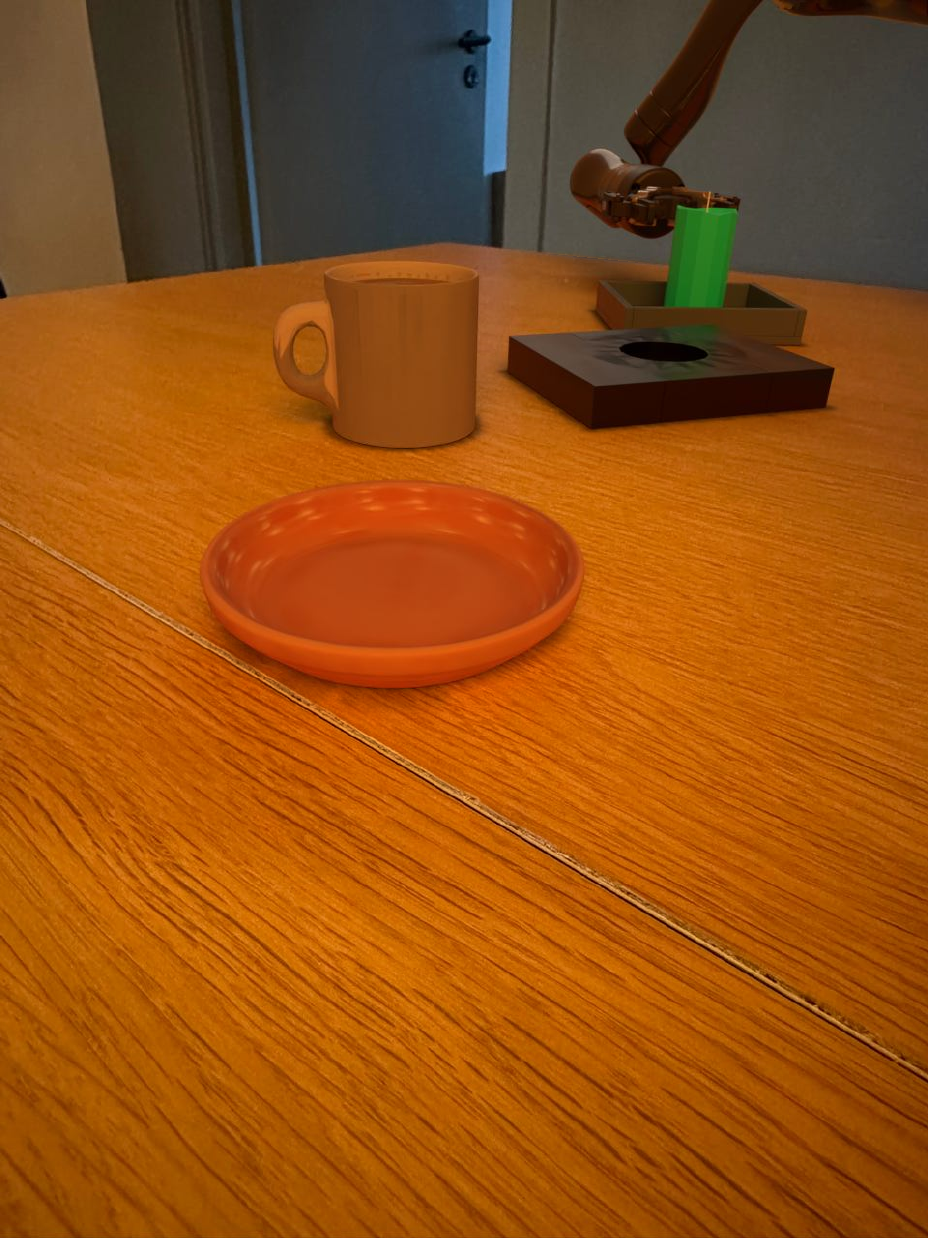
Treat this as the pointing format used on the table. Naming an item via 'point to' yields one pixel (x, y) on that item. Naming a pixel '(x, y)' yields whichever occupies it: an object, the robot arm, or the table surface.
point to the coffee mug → (391, 351)
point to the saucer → (392, 581)
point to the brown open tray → (702, 310)
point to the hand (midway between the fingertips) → (691, 214)
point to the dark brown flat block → (665, 374)
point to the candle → (700, 256)
